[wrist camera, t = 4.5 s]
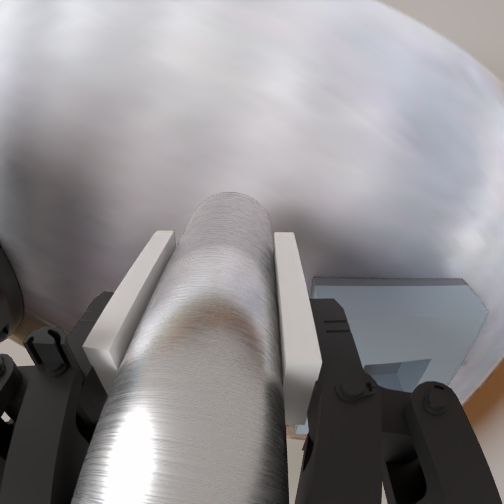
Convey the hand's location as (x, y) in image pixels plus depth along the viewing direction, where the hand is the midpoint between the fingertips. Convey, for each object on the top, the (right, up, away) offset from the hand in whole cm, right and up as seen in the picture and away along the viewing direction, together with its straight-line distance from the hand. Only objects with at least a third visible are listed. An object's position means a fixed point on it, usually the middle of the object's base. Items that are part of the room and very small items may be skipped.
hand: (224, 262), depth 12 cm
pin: (0, +1, +3) cm, 3 cm away
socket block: (+12, -8, +12) cm, 18 cm away
